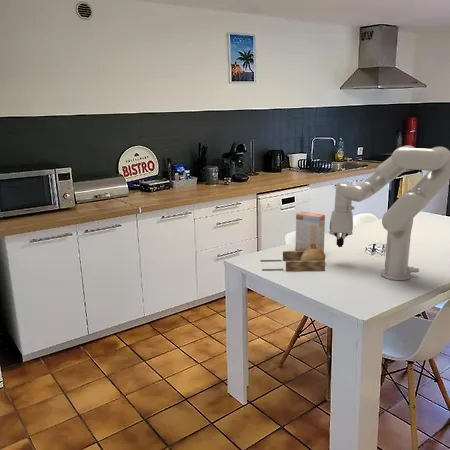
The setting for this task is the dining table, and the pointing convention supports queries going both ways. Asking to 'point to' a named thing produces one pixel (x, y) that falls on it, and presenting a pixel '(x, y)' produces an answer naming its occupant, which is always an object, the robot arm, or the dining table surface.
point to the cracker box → (309, 231)
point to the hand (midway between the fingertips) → (339, 246)
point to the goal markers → (271, 269)
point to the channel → (301, 262)
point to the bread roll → (313, 255)
